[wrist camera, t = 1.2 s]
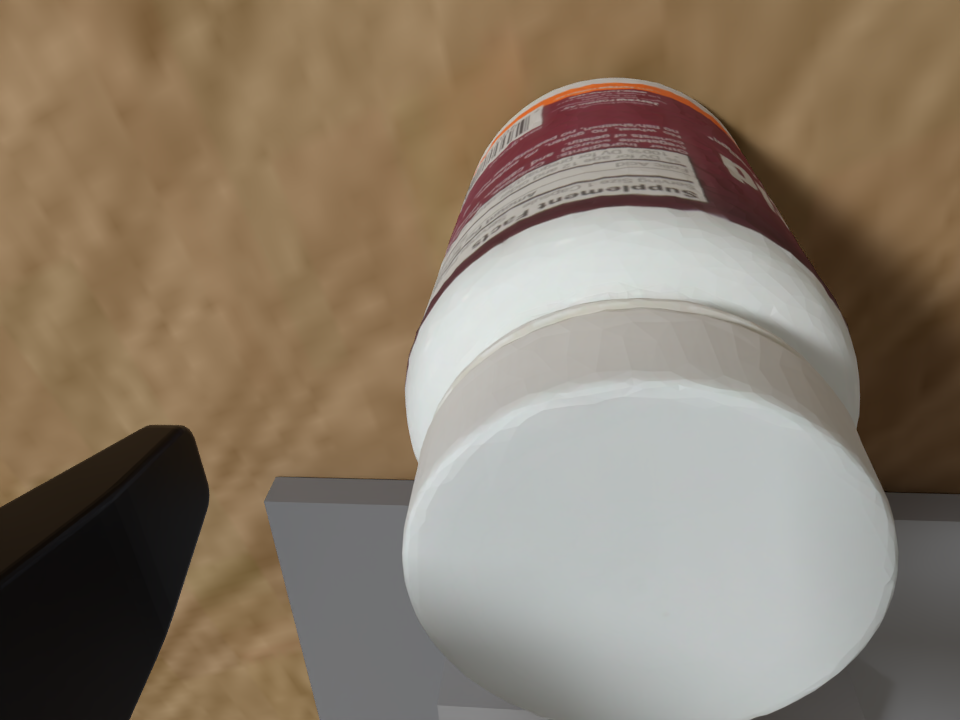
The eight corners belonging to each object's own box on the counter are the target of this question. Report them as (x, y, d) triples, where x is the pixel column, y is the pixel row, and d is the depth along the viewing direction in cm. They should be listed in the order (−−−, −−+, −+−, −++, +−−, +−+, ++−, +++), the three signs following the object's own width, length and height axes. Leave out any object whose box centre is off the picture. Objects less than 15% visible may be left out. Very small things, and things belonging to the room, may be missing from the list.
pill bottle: (768, 303, 14) (963, 742, 7) (511, 357, 15) (456, 782, 8) (729, 28, 12) (961, 268, 5) (430, 116, 13) (259, 415, 6)
